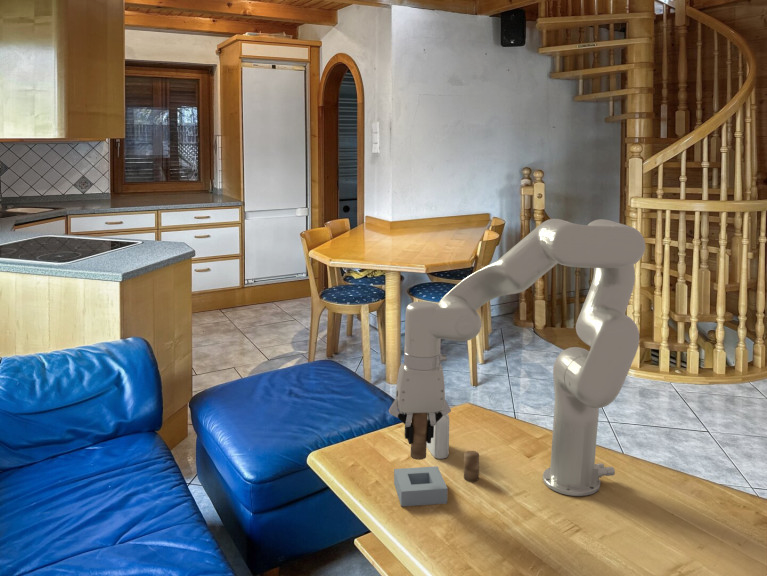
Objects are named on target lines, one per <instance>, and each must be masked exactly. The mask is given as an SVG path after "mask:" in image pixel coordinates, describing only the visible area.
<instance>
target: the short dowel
mask: <svg viewBox="0 0 767 576" xmlns="http://www.w3.org/2000/svg"><path fill="white" fill-rule="evenodd" d="M479 472H480V454H479V452H478V451H476V450H466V451H465V452H463V479H464V481H466V482H471V483H474V482H477V481H479V479H480V478H479V476H480V473H479Z"/></svg>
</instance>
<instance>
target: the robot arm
mask: <svg viewBox="0 0 767 576" xmlns="http://www.w3.org/2000/svg"><path fill="white" fill-rule="evenodd" d="M645 251H646V240H645V239H644V236H643V234H642V233H641V232H640V231H639V230H638V229H637V228H635V227H632V226H630V225H627V224H623V223H620V222H616V221H613V220H609V219H601V218H600V219H595V220H592V221H591V222H589V223H588V224H587V225H586V224H579V223H578V224H577V223H575V222H574V223H573V222H571V221H567V220H564V219H561V218H549V219H547V220H545V221H543V222H541V223H540V224H539V225H537V227H535V228H534V229H533V230H531V231H530V232H529V233H528V234H527V235H526V236H525V237H524V238H522V239H520V241H518V243H517V244H515V245H514V246H512V247H511V248H510V249H509V250H508V251H507V252H505V253H504V254H503V255H502V256H501V257H499V258H498V259H497V260H495V261H493V262H491V263H490V264H488V265H485V266H484V267H482V268H481V269H478V270H477V271H475V272H473V273H472V274H470V275H467V277H465V278H464V279H462V280H461V281H459V283H457V284H456V285H455V286H454V287H453V288H452V289H450V290H449V291H448V292H447V293H446V294H445V295H443V297H442V298H441V299H440V300H439V302H438V303H436V302H432V301H423V300H422V301H421V300H420V301H419V300H418V301H413V302H410V303H409V304H408V305H407V306H406V308H405V317H404V319H405V322H404V324H405V325H404V350H403V351H404V353H403V354H404V355H403V356H404V357H403V363H401V364H400V366H399V368H398V373H397V380H396V388H395V399H394V400H393V402H392V404H391V405H390V407H389V409H388V412H389V415H391V416H393V417H396V418H397V419H398V420H400V421H401V422H402V424H403V425H404V439H406V440H407V442H408V445H411V444H412V443H413V426H412V415H413V413H428V422H427V443H431V438H433V437H434V426H435V425H436V422H437V421H439V420H440V419H441V418H442V416H444V415H446V414H448V415H449V414H450V413H451V412H452V408H451V407H450V405H449V404H448V402H447V400H446V393H445V392H446V390H445V375H444V370H443V366H442V364H441V363H442V362H446V361H447V358H448V357H447V354H442V353H441V340H447V341H455V342H467V341H471V340H473V339H475V338H476V337H477V336H478V335H479V334H480V331H481V329H482V318H481V316H480V314H479V313H478V312H477V311H478V309H480V308H481V307H482V306H484V305H485V304H487V303H488V302H490V301H492V300H494V299H496V298H500V297H502V296H503V297H504V296H509V295H514V294H520V293H522V292H525V291H526V290H527V289H529V288H530V287H531V286H532V285H534V283H536V282H538V281H539V279H541V277H543V276H544V275H545V274H546V273H548V272H549V271H550V270H551V269H553V268H554V267H555V266H556V265H558V264H559V265H562V266H565V267H571V268H583V269H584V268H585V269H593V276H592V281H591V285H590V287H589V290H588V293H587V295H586V298H585V300H584V302H583V305H582V307H581V310H580V313H579V315H578V318H577V320H576V324H575V331H576V335H577V337H578V338H579V339H580V340H581V341H582V342H583V343H584V344H585V345H588V347H590V348H589V350H588V349H586V348H583V347H579V346H572V347H571V346H570V347H568V348H566V349H564V350H562V351H561V352H560V353H559V354H558V355H557V357H556V359H555V361H554V363H553V364H554V365H553V369H552V371H553V372H552V374H553V375H552V376H553V388H554V406H553V407H554V408H553V409H554V410H553V424H552V438H551V452H550V453H551V455H550V467H548V468H546V469H545V470H544V471H543V474H542V480H543V483H544V485H546V486H547V488H549V489H550V490H552V491H554V492H556V493H559V494H562V495H566V496H573V497H586V496H590V495H593V494H595V493H597V492H598V491H599V490H600V487H601V480H600V478H601V479H602V477H604V476H605V477H609V476H612V477H613V476H615V473H616V470H615V468H614V467H613V466H606V467H605V464H604V463H603V462H602V463H601V462H600V463H595V462H596V449H597V440H598V439H597V438H598V437H597V436H598V424H599V414H600V413H599V411H600V409H601V408H604V407H607V406H609V405H610V404H612V403H613V402H614V400H615V399H616V398H617V397H618V395H619V394H620V392H621V390H622V388H623V385H624V383H625V381H626V378H627V376H628V374H629V371H630V369H631V367H632V364H633V362H634V359H635V357H636V354H637V351H638V349H639V345H640V332H639V328H638V325H637V323H636V322H635V321H634V320H633V319H632V318H631V317H630V316H628V315H626V310H627V309H628V305H629V303H630V300H631V296H632V294H633V291H634V288H635V281H636V271H635V265H636V264H637V263H638V262H639V261H640V260H641V259H642V257H644V254H645Z"/></svg>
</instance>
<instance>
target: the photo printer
mask: <svg viewBox="0 0 767 576" xmlns="http://www.w3.org/2000/svg"><path fill="white" fill-rule="evenodd" d="M449 448H450V416H449V413H448V414H446V415H444V416H442V418H441V419H440V420H439V421H437V422H436V425H435V426H434V437H433V438H431V443H427V446H426V449H428V451H429V452H430V454H431V455H432V456H433V458H436V459H446V458H447V457H449V453H450V449H449Z"/></svg>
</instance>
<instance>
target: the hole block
mask: <svg viewBox="0 0 767 576" xmlns="http://www.w3.org/2000/svg"><path fill="white" fill-rule="evenodd" d="M393 469H394V470H393V471H394V472H393V485H394V488H395V490H396V495H397V496H398V500H399V501H398V502H399V503H400V507H414V506H427V505H429V506H430V505H443V504H448V487H447V484H446V482H445V480H444V478H443V475H442V473H441V471H440V469H439V466H436V465H435V466H422V467H408V468H407V467H405V468H393Z"/></svg>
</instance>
